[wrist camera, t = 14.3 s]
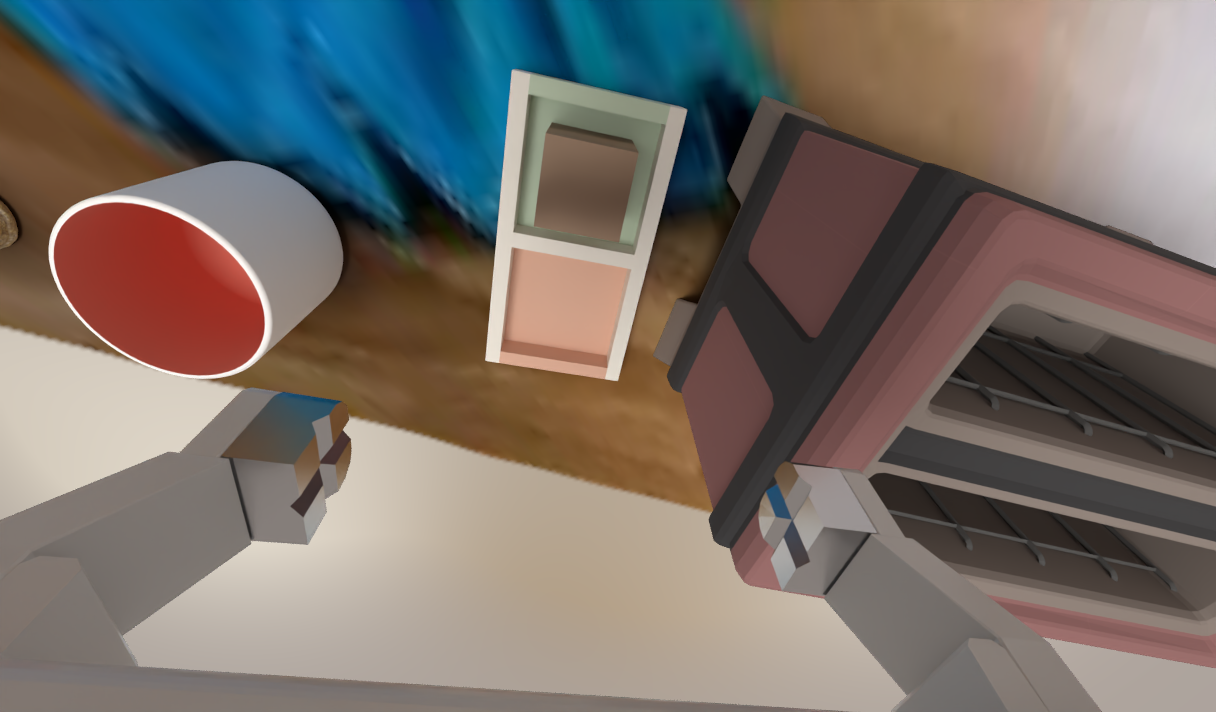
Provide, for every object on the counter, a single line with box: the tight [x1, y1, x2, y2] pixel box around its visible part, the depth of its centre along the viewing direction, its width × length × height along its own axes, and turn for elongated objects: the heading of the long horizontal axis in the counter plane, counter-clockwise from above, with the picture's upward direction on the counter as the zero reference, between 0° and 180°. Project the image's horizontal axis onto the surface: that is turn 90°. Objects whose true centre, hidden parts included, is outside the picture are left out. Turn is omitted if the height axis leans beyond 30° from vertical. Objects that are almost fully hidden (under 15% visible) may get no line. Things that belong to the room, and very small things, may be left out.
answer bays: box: [485, 69, 687, 381], centre depth 33 cm, size 19×10×2 cm, turn 168°
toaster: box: [653, 96, 1216, 668], centre depth 29 cm, size 19×34×21 cm, turn 73°
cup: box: [49, 161, 343, 379], centre depth 29 cm, size 10×10×10 cm
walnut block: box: [534, 122, 639, 243], centre depth 30 cm, size 5×5×5 cm
